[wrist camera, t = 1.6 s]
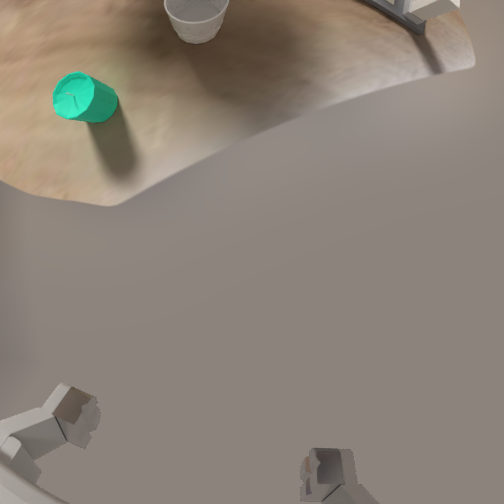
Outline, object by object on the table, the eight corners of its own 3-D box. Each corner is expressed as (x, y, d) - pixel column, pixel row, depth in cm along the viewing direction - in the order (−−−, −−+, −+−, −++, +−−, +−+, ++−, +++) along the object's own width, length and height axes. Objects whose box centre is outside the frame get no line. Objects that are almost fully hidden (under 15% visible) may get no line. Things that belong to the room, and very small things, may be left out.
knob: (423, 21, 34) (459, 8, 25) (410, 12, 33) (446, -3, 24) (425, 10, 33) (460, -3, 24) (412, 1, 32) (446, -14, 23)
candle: (88, 83, 35) (54, 67, 24) (122, 87, 36) (96, 71, 25) (78, 120, 37) (40, 115, 26) (111, 125, 38) (81, 121, 27)
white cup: (190, 57, 36) (186, 34, 27) (161, 23, 34) (151, -4, 24) (234, 30, 36) (242, 3, 26) (205, -3, 33) (206, -34, 24)
